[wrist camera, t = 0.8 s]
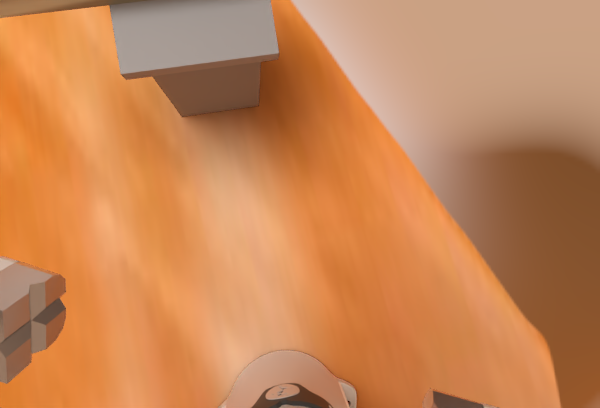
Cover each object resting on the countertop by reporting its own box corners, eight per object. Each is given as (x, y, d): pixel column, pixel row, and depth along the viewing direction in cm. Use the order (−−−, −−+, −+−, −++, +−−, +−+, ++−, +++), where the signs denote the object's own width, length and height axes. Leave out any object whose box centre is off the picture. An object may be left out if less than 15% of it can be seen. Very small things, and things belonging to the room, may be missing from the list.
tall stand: (268, 119, 63) (279, 53, 37) (176, 133, 62) (120, 74, 36) (251, 14, 63) (249, -126, 37) (159, 26, 62) (90, -110, 36)
